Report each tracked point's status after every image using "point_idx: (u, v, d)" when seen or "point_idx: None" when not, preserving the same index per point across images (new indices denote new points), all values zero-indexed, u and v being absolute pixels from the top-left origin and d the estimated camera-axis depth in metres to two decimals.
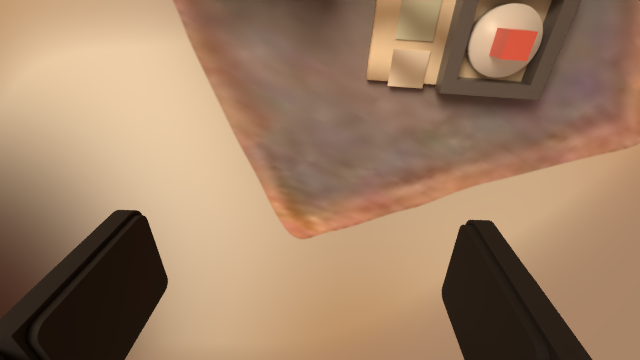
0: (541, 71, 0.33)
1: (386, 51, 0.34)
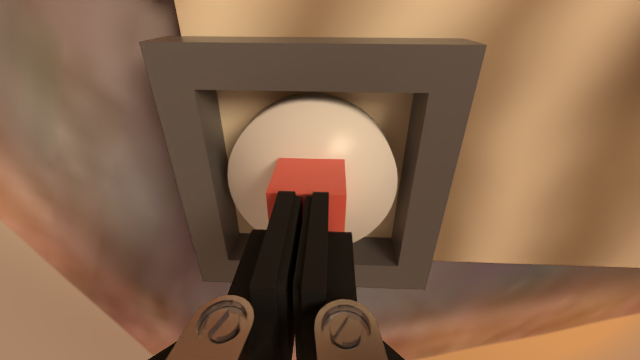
0: None
1: None
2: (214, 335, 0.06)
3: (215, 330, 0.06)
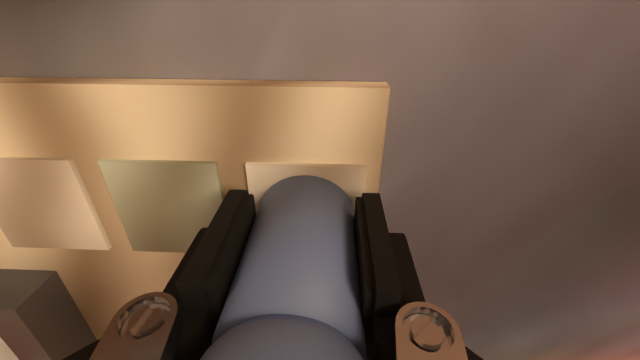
0: None
1: None
2: (138, 334, 0.06)
3: (137, 329, 0.06)
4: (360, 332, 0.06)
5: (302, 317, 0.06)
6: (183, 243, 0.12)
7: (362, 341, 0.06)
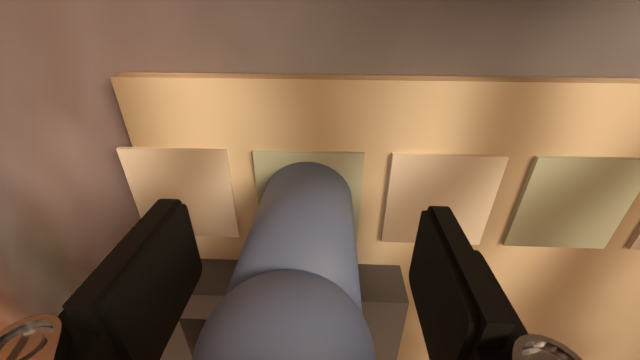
0: None
1: (215, 130, 0.11)
2: None
3: None
4: (356, 288, 0.07)
5: (305, 272, 0.07)
6: (561, 238, 0.12)
7: (358, 296, 0.07)
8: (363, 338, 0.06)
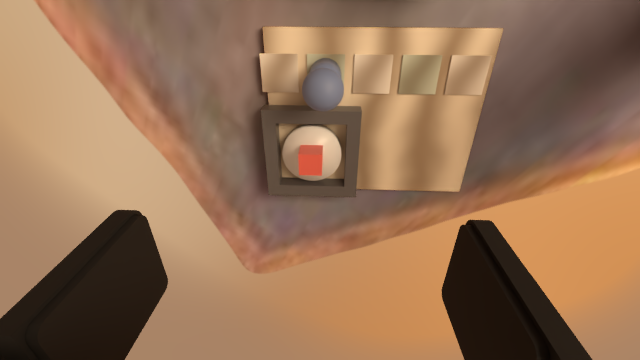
0: (291, 189, 0.38)
1: (294, 46, 0.32)
2: None
3: None
4: None
5: None
6: (418, 89, 0.33)
7: None
8: (340, 78, 0.27)
